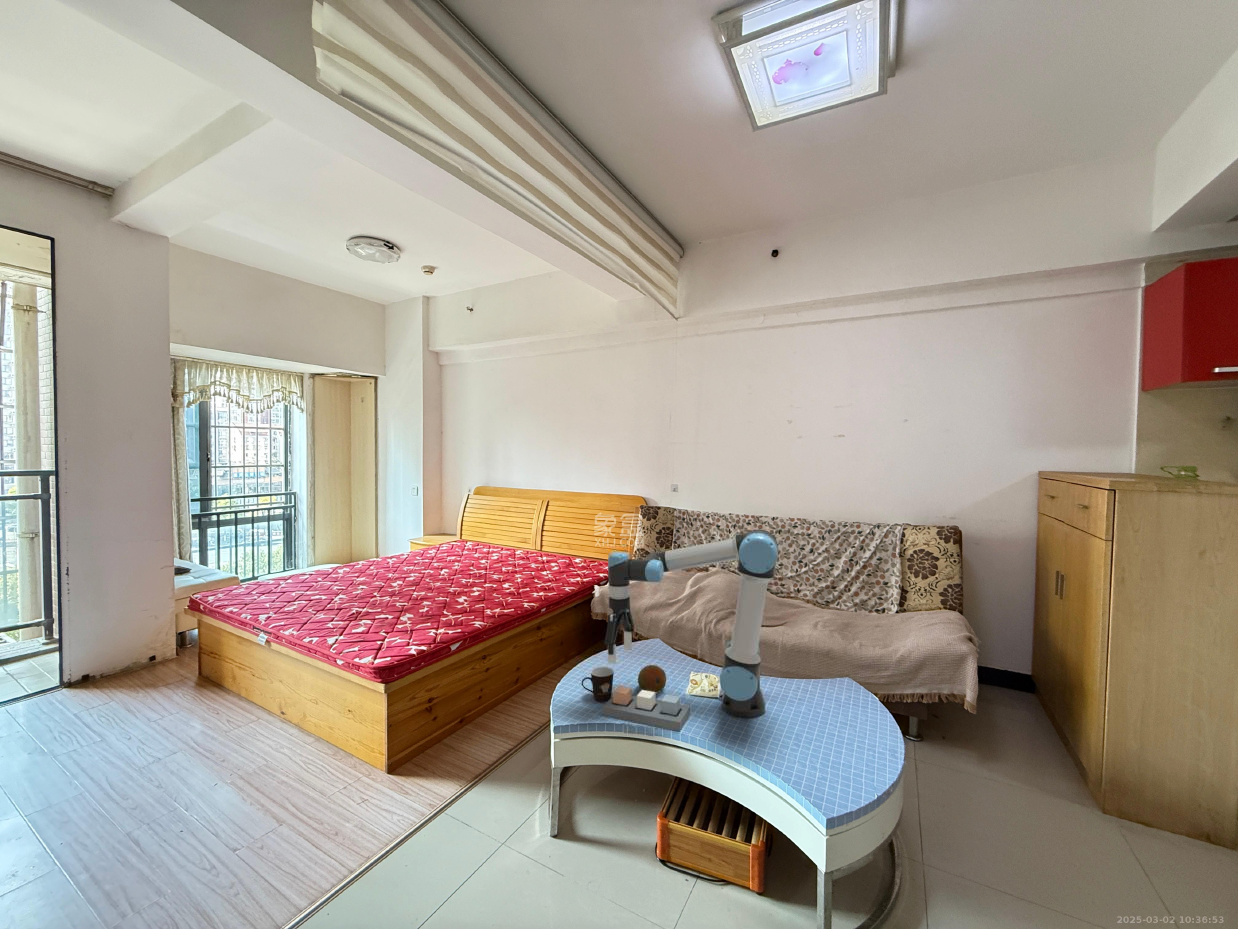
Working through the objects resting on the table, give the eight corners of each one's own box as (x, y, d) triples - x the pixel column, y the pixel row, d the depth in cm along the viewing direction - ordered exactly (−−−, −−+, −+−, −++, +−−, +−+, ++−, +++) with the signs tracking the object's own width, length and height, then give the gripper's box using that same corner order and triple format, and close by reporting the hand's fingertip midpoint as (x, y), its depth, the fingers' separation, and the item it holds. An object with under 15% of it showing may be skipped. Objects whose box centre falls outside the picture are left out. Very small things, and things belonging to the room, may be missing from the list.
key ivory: (655, 703, 176) (655, 692, 176) (650, 710, 171) (650, 698, 171) (642, 701, 178) (642, 689, 178) (636, 707, 174) (636, 695, 174)
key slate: (680, 708, 172) (680, 696, 172) (675, 715, 168) (675, 703, 168) (666, 705, 174) (666, 694, 174) (661, 712, 170) (661, 700, 170)
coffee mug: (615, 693, 192) (614, 667, 192) (612, 704, 183) (612, 676, 183) (585, 692, 193) (584, 666, 193) (581, 703, 184) (580, 676, 184)
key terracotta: (631, 699, 180) (631, 688, 180) (626, 705, 175) (626, 693, 175) (619, 696, 182) (618, 685, 182) (613, 702, 177) (613, 691, 177)
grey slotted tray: (690, 714, 175) (690, 706, 175) (680, 731, 164) (680, 722, 164) (616, 700, 186) (616, 692, 186) (602, 715, 175) (602, 706, 175)
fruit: (644, 701, 185) (644, 674, 185) (630, 687, 197) (629, 662, 197) (672, 694, 190) (672, 668, 190) (656, 681, 201) (656, 656, 201)
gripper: (623, 587, 192) (624, 643, 192) (593, 604, 169) (594, 667, 169) (642, 589, 189) (643, 645, 189) (613, 606, 166) (615, 671, 166)
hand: (620, 656), depth 179 cm, fingers open, 13 cm apart
